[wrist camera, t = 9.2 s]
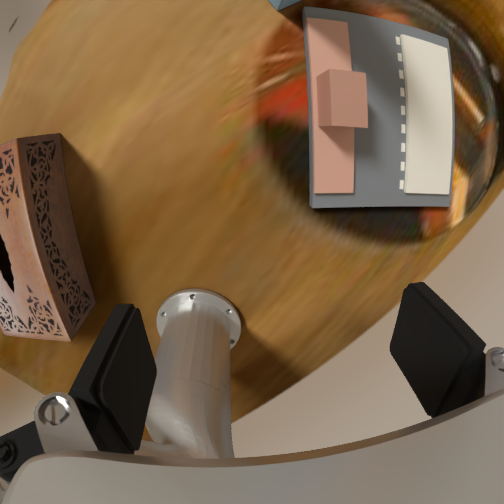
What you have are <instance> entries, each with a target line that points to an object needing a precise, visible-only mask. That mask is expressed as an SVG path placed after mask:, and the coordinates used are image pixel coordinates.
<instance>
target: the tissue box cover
mask: <svg viewBox="0 0 504 504" xmlns="http://www.w3.org/2000/svg"><path fill="white" fill-rule="evenodd" d="M95 304H96V300H95V297H94V294H93V291H92V288H91V285H90V282H89V278H88V275H87V272H86V268H85V264H84V261H83V257H82V253H81V250H80V246H79V242H78V237H77V233H76V229H75V224H74V220H73V215H72V210H71V205H70V200H69V194H68V188H67V182H66V176H65V169H64V162H63V153H62V144H61V134H60V133H57V134H47V135H39V136H31V137H24V138H17V139H14V140H12V141H10V142H7V143H5V144H3V145H0V327H1V329H2V332H3V334H4V335H9V336H17V337H26V338H35V339H46V340H59V341H72V339H73V338H74V336H75V334H76V333H77V331H78V330H79V328H80V327H81V325H82V323H83V322H84V320H85V319H86V317H87V316H88V314H89V313H90V311H91V310H92V308H93V307H94V305H95Z"/></svg>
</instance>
